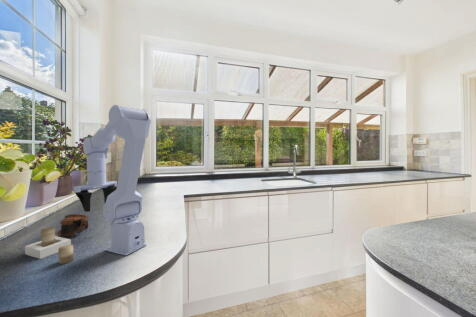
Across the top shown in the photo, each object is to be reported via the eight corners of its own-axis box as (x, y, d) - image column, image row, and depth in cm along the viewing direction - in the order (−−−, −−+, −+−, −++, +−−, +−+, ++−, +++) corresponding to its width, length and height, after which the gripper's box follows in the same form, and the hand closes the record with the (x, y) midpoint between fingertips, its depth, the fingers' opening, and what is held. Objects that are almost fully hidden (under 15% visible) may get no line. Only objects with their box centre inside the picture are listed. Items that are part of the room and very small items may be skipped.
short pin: (76, 259, 60) (75, 245, 60) (63, 265, 57) (62, 250, 57) (69, 257, 61) (68, 244, 61) (56, 263, 58) (55, 248, 58)
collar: (71, 247, 68) (70, 239, 68) (40, 259, 61) (39, 250, 61) (56, 243, 71) (56, 236, 71) (25, 254, 64) (24, 246, 64)
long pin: (58, 249, 67) (57, 227, 67) (45, 253, 64) (45, 230, 64) (51, 247, 68) (50, 226, 68) (39, 252, 65) (38, 229, 65)
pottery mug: (49, 238, 77) (56, 215, 81) (76, 241, 85) (81, 220, 89) (71, 233, 73) (78, 210, 77) (97, 236, 81) (102, 215, 85)
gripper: (107, 169, 85) (109, 203, 86) (67, 173, 72) (69, 212, 72) (120, 170, 83) (121, 204, 83) (80, 173, 69) (82, 214, 70)
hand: (97, 208), depth 78 cm, fingers open, 7 cm apart
